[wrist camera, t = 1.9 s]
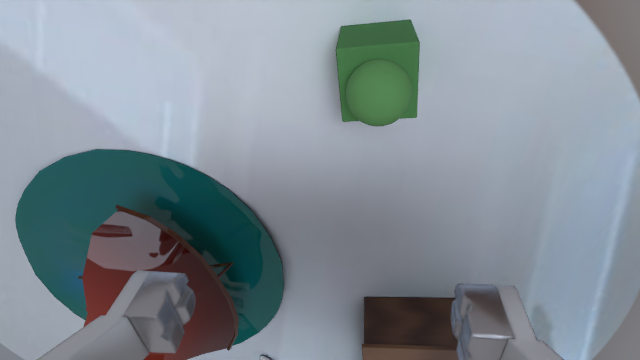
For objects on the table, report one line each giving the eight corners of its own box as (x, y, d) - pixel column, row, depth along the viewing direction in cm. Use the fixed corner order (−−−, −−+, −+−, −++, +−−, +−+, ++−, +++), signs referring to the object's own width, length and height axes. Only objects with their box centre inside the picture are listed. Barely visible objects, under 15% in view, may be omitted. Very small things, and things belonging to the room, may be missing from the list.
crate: (482, 297, 39) (498, 352, 34) (470, 351, 45) (482, 404, 40) (362, 295, 41) (361, 347, 36) (366, 347, 46) (366, 398, 42)
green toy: (410, 19, 24) (427, 59, 17) (409, 86, 26) (422, 143, 20) (340, 25, 24) (331, 67, 18) (345, 90, 27) (339, 146, 21)
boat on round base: (324, 317, 44) (316, 417, 34) (133, 355, 51) (81, 447, 41) (203, 99, 31) (136, 162, 21) (-30, 190, 38) (-159, 268, 28)
